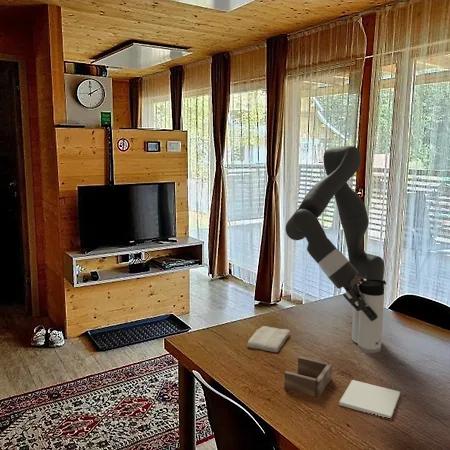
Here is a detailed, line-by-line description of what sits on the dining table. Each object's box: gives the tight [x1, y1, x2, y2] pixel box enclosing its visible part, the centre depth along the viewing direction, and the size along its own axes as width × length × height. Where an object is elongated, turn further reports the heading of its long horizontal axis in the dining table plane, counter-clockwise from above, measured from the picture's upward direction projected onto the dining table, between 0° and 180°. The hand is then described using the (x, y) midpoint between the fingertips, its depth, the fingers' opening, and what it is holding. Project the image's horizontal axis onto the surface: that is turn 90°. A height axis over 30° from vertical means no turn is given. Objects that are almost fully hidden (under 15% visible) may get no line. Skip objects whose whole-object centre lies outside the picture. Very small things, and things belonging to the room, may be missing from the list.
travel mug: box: [357, 279, 387, 354], centre depth 127 cm, size 6×7×20 cm
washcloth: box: [246, 325, 291, 353], centre depth 171 cm, size 12×18×3 cm, turn 157°
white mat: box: [338, 379, 401, 419], centre depth 131 cm, size 14×14×1 cm
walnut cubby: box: [283, 355, 333, 398], centre depth 140 cm, size 12×11×5 cm
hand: (377, 314), depth 126 cm, fingers closed on travel mug, 6 cm apart
